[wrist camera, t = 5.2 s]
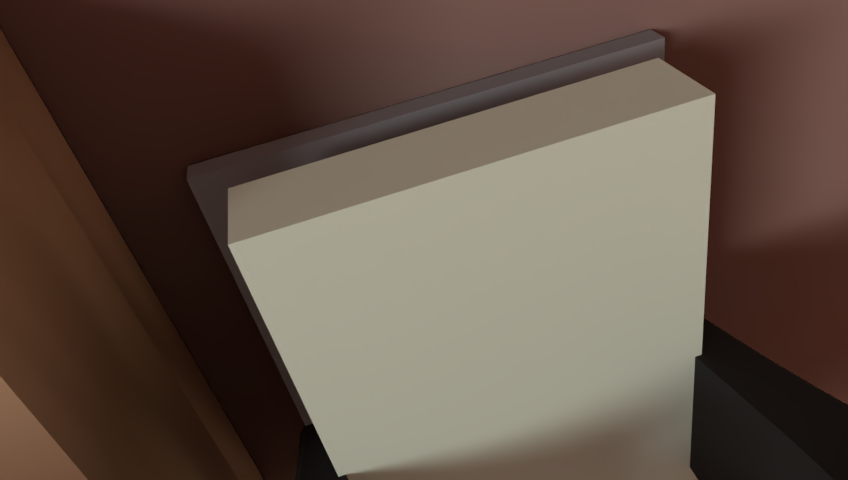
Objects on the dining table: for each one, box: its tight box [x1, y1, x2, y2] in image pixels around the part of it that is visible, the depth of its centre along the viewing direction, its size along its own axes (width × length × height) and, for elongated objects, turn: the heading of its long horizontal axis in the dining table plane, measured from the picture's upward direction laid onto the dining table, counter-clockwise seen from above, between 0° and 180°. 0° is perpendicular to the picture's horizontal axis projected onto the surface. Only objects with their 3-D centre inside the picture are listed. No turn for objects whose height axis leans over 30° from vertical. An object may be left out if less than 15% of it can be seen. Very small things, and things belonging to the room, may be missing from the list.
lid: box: [228, 58, 716, 480], centre depth 11 cm, size 11×5×1 cm, turn 12°
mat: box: [186, 29, 665, 426], centre depth 13 cm, size 10×7×1 cm
